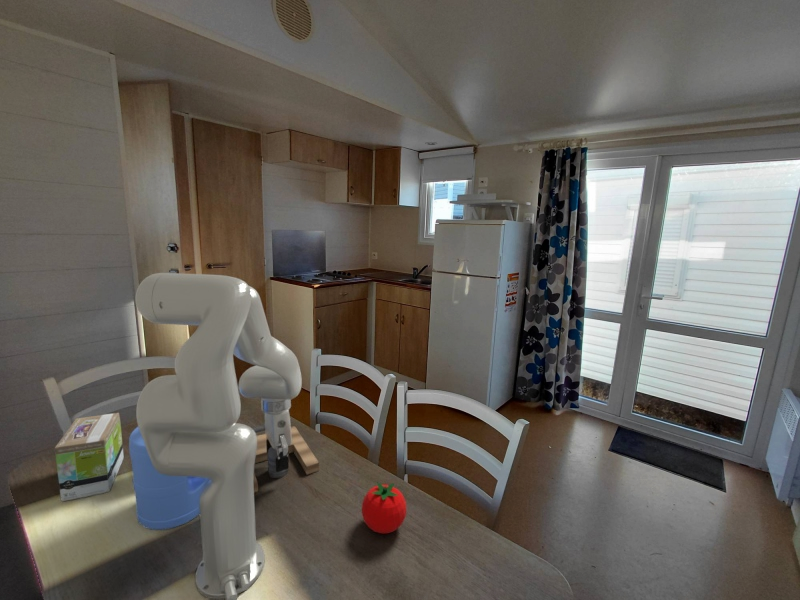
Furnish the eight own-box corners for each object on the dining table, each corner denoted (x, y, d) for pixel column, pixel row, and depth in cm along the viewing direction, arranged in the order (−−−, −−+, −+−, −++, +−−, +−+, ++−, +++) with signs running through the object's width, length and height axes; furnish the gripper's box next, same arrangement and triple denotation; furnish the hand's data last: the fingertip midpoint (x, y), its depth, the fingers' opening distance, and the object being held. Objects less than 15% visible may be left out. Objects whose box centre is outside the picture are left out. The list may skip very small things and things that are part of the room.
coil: (290, 474, 103) (290, 452, 101) (271, 481, 100) (270, 458, 98) (285, 463, 107) (284, 442, 106) (266, 469, 104) (265, 447, 103)
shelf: (318, 470, 105) (318, 462, 104) (243, 496, 94) (243, 487, 93) (294, 432, 123) (294, 425, 122) (229, 450, 112) (229, 443, 111)
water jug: (136, 543, 79) (122, 424, 73) (138, 497, 92) (126, 393, 86) (216, 514, 88) (209, 406, 82) (208, 476, 100) (201, 380, 95)
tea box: (111, 492, 93) (104, 439, 90) (60, 503, 89) (51, 448, 86) (125, 457, 107) (119, 410, 104) (81, 466, 102) (73, 417, 99)
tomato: (376, 502, 94) (377, 468, 91) (413, 519, 89) (415, 482, 87) (352, 532, 84) (353, 494, 82) (392, 552, 80) (394, 512, 78)
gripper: (300, 413, 94) (300, 473, 97) (281, 387, 108) (282, 441, 111) (270, 420, 90) (271, 482, 93) (254, 393, 104) (255, 448, 107)
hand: (277, 460), depth 102 cm, fingers open, 9 cm apart
